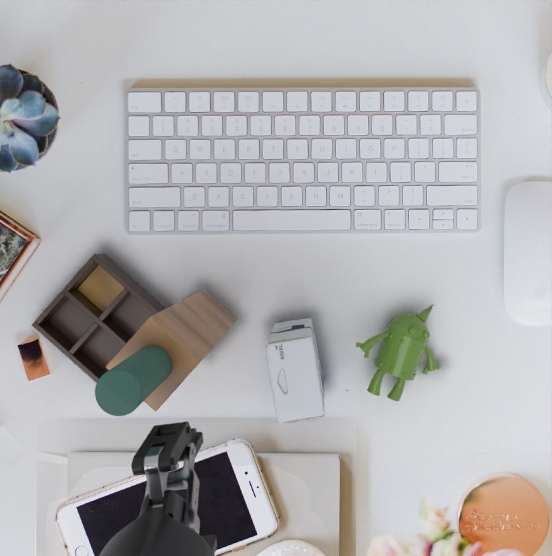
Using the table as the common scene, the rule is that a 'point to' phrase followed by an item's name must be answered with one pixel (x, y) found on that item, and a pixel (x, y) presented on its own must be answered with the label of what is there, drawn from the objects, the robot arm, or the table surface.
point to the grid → (96, 315)
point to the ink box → (295, 371)
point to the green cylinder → (132, 380)
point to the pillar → (180, 339)
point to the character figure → (400, 352)
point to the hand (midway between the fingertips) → (197, 488)
